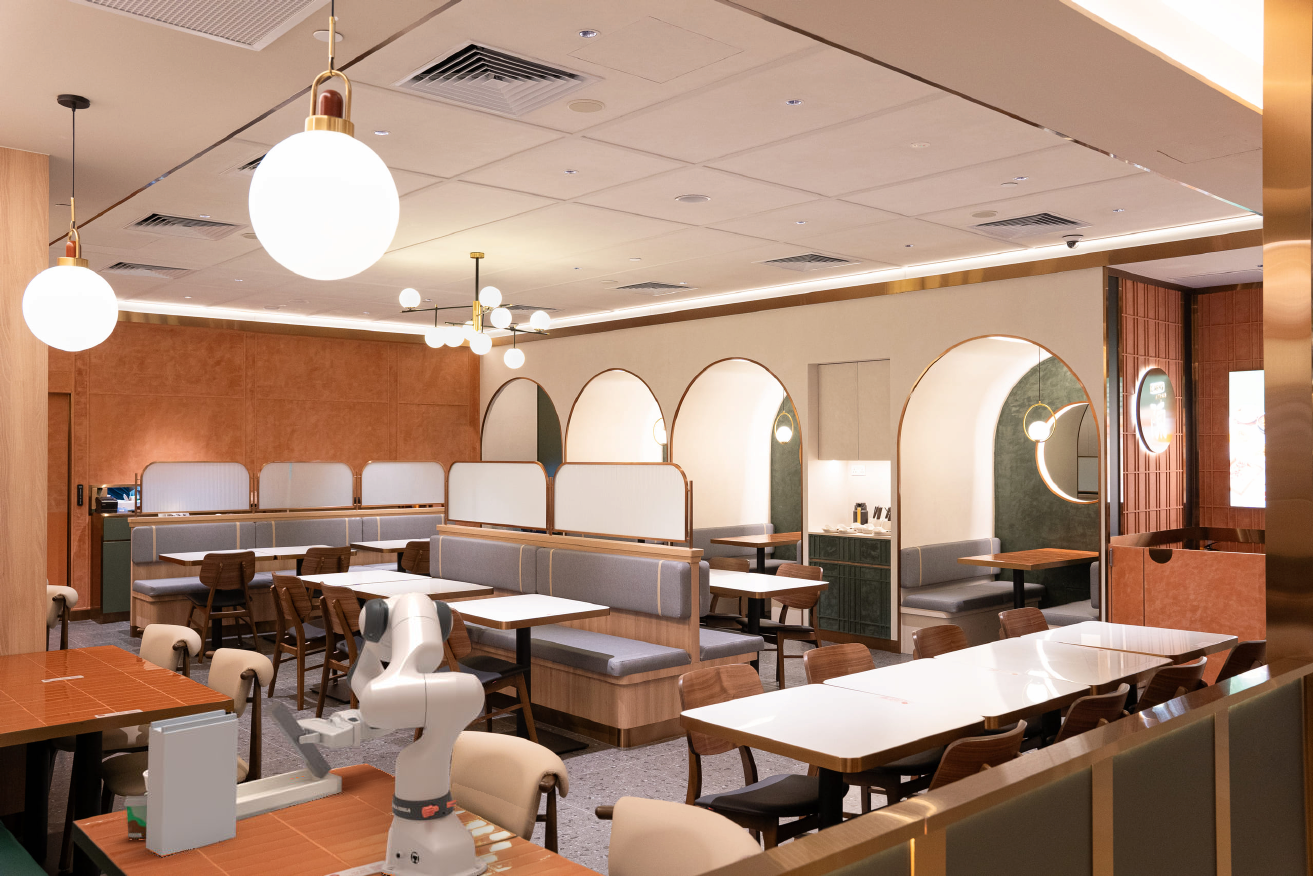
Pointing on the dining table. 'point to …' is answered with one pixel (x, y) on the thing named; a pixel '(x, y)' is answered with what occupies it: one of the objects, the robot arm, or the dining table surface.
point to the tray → (283, 792)
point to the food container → (137, 816)
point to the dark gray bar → (291, 732)
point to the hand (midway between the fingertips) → (293, 738)
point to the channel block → (191, 781)
